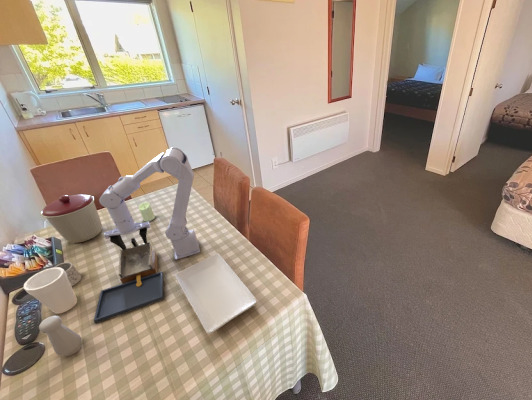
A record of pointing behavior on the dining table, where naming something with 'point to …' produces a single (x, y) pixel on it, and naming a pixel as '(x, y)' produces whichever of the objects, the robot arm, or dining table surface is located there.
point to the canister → (74, 217)
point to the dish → (135, 259)
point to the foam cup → (52, 289)
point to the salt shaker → (61, 336)
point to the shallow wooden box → (145, 273)
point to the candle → (146, 211)
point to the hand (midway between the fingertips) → (135, 246)
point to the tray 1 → (129, 297)
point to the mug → (70, 272)
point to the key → (138, 281)
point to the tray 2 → (215, 292)
